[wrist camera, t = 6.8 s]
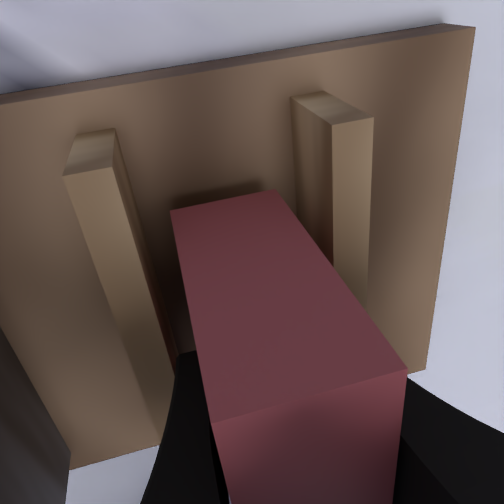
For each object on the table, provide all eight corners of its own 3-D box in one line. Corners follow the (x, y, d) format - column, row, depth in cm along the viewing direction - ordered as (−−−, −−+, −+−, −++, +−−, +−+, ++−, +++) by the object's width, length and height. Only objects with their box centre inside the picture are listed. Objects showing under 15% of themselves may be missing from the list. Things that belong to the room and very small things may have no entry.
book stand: (444, 23, 14) (651, 47, 8) (407, 346, 21) (504, 469, 16) (-199, 126, 11) (-505, 258, 6) (19, 453, 19) (-24, 643, 13)
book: (275, 188, 12) (407, 368, 7) (292, 381, 17) (381, 593, 11) (169, 210, 12) (210, 424, 6) (215, 402, 16) (265, 635, 10)
